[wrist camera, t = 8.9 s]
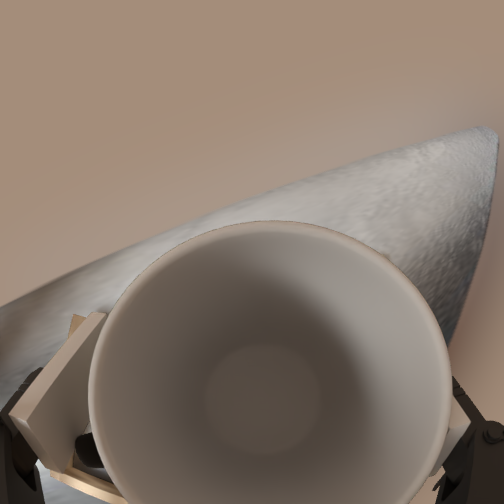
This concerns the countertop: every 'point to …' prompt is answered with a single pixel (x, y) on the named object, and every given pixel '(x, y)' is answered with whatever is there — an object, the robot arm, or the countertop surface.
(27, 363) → the countertop surface
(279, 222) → the mug
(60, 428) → the robot arm
